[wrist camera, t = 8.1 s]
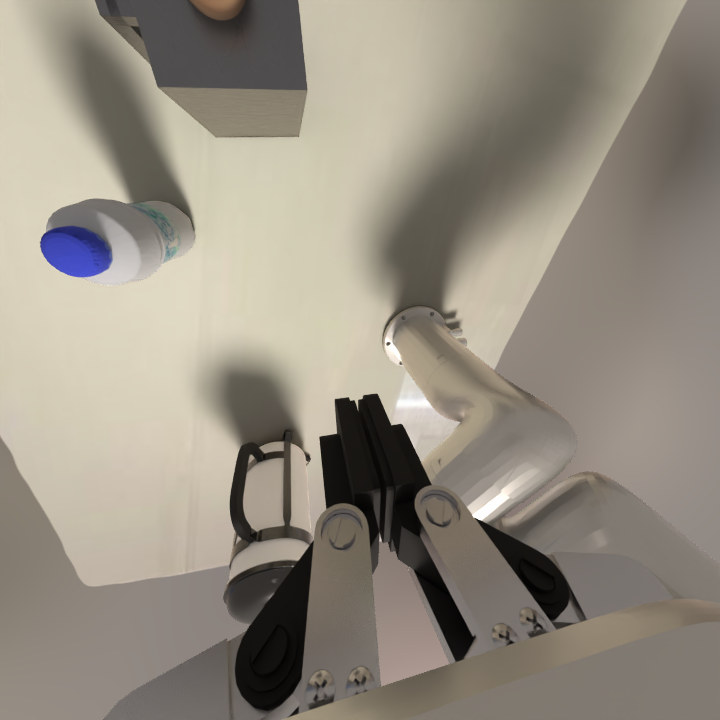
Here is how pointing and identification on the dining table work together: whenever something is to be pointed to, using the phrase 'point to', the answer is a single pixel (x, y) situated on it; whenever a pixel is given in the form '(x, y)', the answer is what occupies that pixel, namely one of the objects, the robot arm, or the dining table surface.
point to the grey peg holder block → (222, 61)
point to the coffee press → (266, 523)
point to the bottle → (115, 239)
